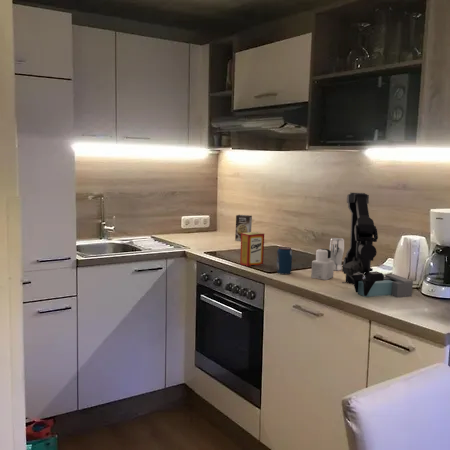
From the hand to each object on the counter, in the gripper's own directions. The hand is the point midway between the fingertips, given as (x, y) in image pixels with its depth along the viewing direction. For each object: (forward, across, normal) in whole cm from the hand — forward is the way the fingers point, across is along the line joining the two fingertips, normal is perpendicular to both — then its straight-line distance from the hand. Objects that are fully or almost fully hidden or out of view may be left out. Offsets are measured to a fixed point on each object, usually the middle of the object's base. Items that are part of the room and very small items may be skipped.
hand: (361, 294), depth 212 cm
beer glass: (+2, -49, +22) cm, 54 cm away
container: (+2, -35, +6) cm, 36 cm away
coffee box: (+2, -140, +16) cm, 141 cm away
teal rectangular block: (0, 0, +7) cm, 7 cm away
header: (+2, +1, +16) cm, 16 cm away
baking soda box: (+2, -71, -12) cm, 72 cm away
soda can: (+2, -48, -7) cm, 49 cm away
